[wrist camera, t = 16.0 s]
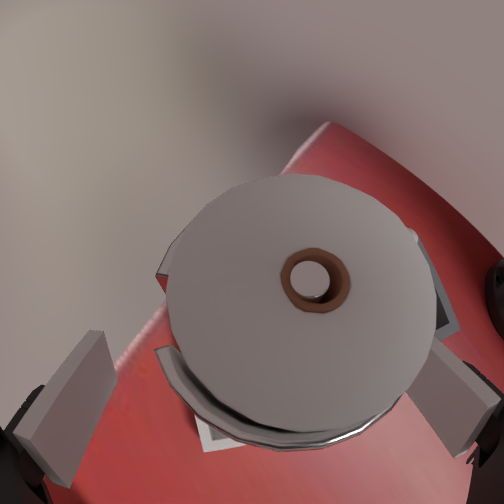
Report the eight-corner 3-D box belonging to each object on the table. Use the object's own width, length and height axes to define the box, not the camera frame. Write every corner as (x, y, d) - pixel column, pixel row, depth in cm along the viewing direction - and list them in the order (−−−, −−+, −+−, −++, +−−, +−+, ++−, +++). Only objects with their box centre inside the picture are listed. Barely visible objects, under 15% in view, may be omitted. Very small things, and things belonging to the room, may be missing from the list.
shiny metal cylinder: (237, 343, 29) (230, 131, 7) (295, 367, 28) (454, 219, 6) (210, 398, 26) (71, 352, 4) (269, 423, 24) (406, 492, 3)
